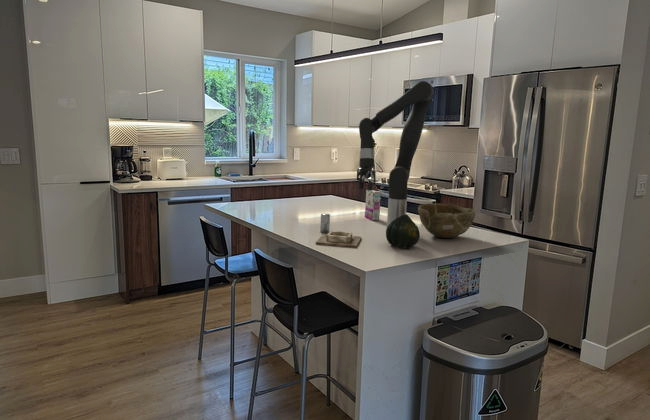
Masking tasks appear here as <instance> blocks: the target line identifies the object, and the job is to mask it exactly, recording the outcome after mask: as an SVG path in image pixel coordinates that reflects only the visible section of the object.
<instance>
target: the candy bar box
mask: <svg viewBox="0 0 650 420" xmlns="http://www.w3.org/2000/svg"><path fill="white" fill-rule="evenodd" d="M381 199H382V191H378V190H375V189H374V190H372V191H369V190H368V189H367V190H366V191H365V208H364V209H365V210H364V218H366V219H368V220H370V221H380V216H381V215H380V214H381V211H380V210H381V202H382V201H381Z"/></svg>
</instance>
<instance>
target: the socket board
mask: <svg viewBox="0 0 650 420" xmlns="http://www.w3.org/2000/svg"><path fill="white" fill-rule="evenodd" d="M361 240H362V236H361V235H360V236H358V235H353V232H351V231H342V230H329V233H322V235H321V236H320V237H319V238H318V239H317V240H316V241H315V245H318V246H319V245H320V246H331V247H339V248H340V247H341V248H353V249H356V248H357V247H358V245H359V243H360V242H361Z"/></svg>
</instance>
